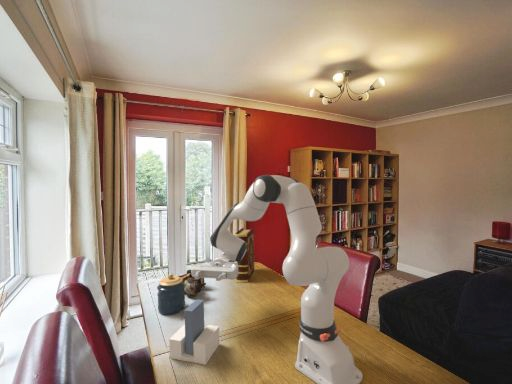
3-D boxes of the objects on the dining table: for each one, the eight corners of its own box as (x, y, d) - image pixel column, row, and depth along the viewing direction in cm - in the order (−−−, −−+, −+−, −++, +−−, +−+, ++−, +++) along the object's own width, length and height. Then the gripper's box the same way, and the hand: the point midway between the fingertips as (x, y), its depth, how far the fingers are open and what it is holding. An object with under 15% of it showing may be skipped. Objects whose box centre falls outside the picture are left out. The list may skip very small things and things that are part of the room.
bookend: (189, 269, 166) (216, 273, 149) (190, 286, 165) (217, 293, 149) (168, 275, 155) (194, 280, 138) (169, 294, 154) (196, 302, 138)
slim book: (204, 340, 104) (203, 300, 103) (193, 355, 96) (191, 311, 95) (197, 339, 105) (196, 299, 104) (185, 353, 96) (184, 310, 96)
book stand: (219, 343, 104) (219, 326, 104) (205, 364, 93) (205, 344, 92) (187, 338, 108) (186, 321, 108) (170, 358, 97) (169, 339, 96)
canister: (157, 305, 137) (156, 271, 136) (184, 301, 142) (182, 268, 141) (158, 317, 125) (156, 280, 124) (186, 312, 130) (185, 276, 129)
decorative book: (247, 283, 164) (246, 234, 162) (234, 282, 165) (233, 234, 164) (254, 270, 186) (253, 227, 184) (243, 270, 187) (242, 227, 186)
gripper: (199, 259, 125) (183, 269, 112) (240, 261, 120) (229, 271, 106) (199, 273, 125) (184, 284, 112) (241, 275, 120) (230, 287, 107)
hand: (206, 278), depth 109 cm, fingers open, 8 cm apart
